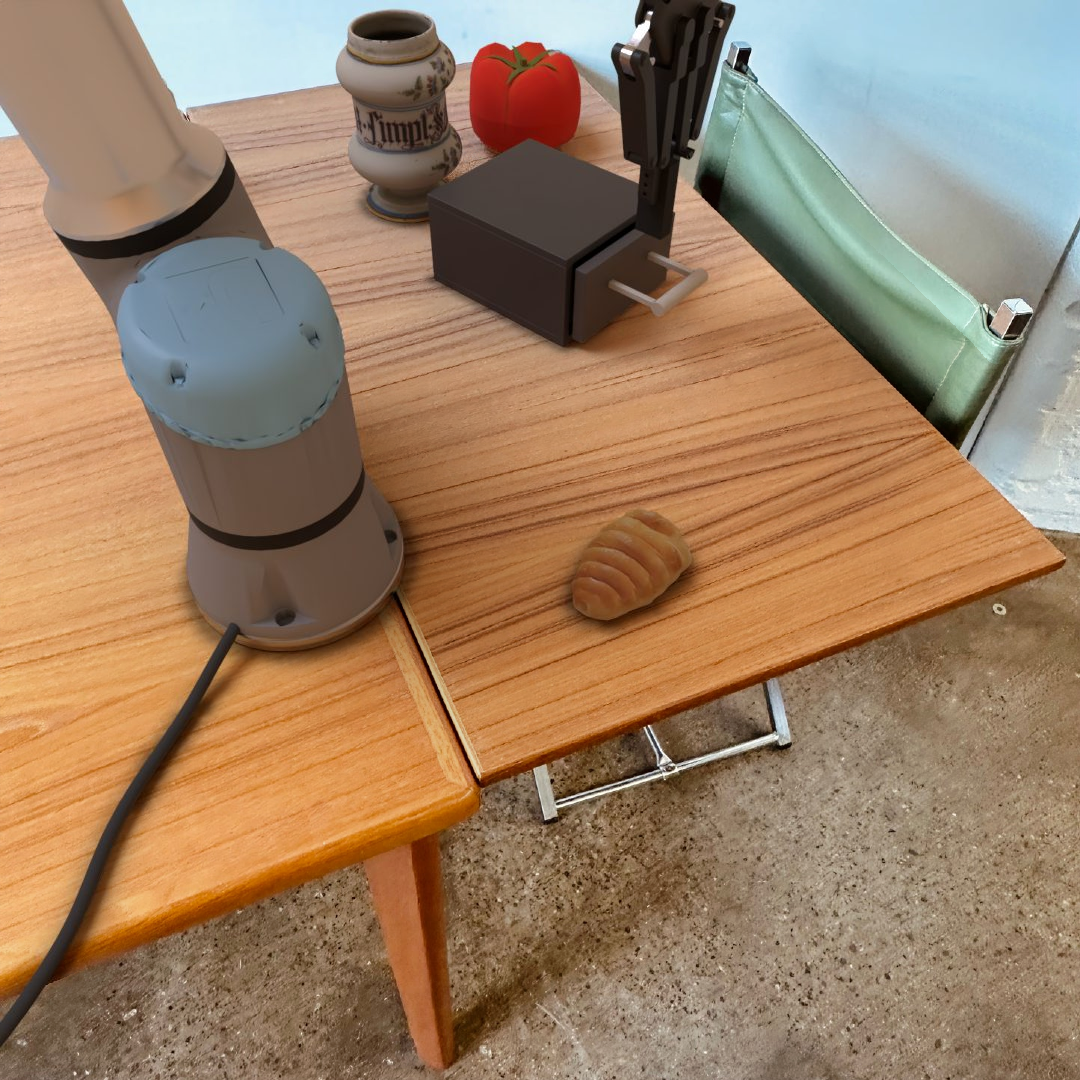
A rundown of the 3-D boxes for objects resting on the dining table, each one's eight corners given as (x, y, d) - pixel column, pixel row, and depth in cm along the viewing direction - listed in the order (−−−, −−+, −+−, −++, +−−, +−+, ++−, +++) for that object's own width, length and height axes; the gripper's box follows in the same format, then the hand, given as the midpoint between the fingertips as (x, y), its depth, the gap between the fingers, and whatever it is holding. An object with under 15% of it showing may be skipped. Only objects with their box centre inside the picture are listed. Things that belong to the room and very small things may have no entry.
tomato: (601, 142, 110) (607, 50, 102) (531, 184, 103) (532, 89, 95) (515, 108, 115) (515, 18, 108) (443, 146, 109) (437, 53, 101)
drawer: (719, 304, 87) (732, 236, 82) (637, 372, 80) (645, 302, 75) (545, 224, 96) (546, 157, 91) (457, 279, 89) (453, 210, 84)
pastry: (622, 646, 63) (627, 614, 60) (546, 597, 65) (546, 563, 62) (696, 564, 67) (703, 530, 65) (622, 522, 70) (626, 487, 67)
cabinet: (654, 279, 91) (665, 194, 84) (563, 347, 84) (566, 260, 77) (528, 220, 98) (529, 137, 91) (433, 279, 91) (426, 193, 84)
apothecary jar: (360, 172, 104) (336, -1, 91) (465, 172, 105) (457, 0, 91) (350, 229, 97) (322, 49, 83) (464, 228, 97) (454, 49, 83)
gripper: (681, -52, 56) (643, 280, 74) (788, -100, 63) (730, 216, 81) (585, -78, 59) (571, 246, 77) (696, -121, 66) (660, 187, 84)
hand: (652, 230), depth 79 cm, fingers closed
